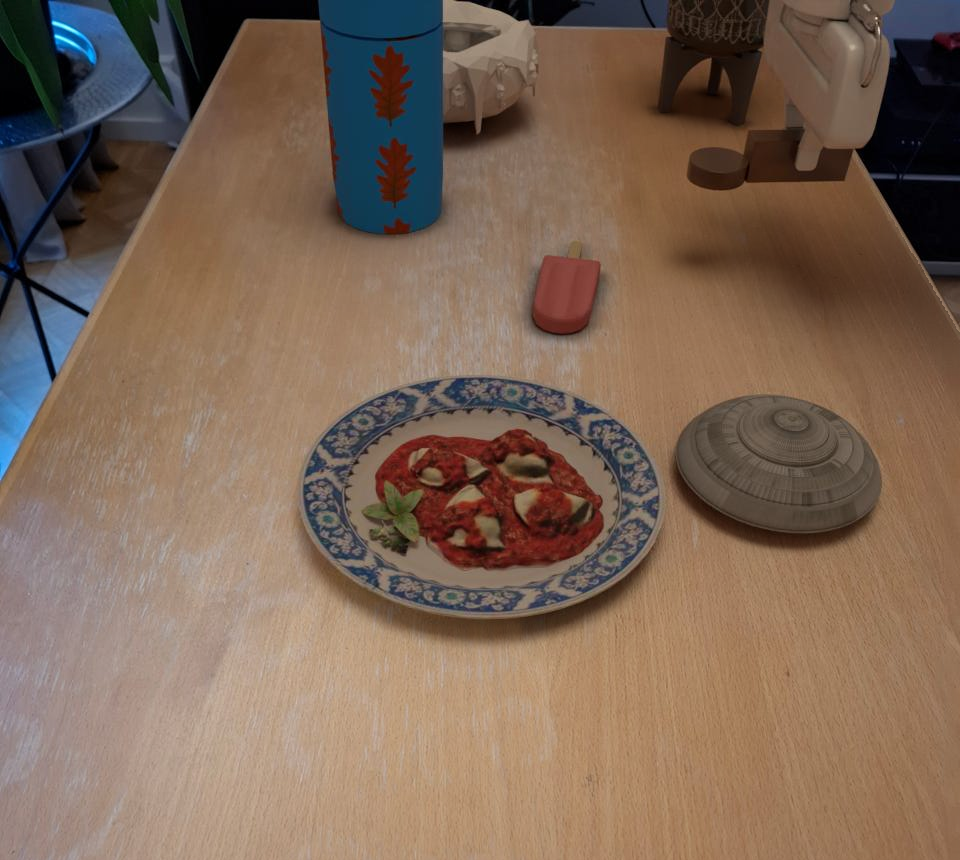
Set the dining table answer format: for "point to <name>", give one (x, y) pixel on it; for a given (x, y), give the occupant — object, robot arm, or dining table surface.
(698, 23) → the planter
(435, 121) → the thermos
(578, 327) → the popsicle
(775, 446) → the flying saucer
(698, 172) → the brown cylinder and block
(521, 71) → the bowl
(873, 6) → the robot arm
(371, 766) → the dining table surface
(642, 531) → the ceramic plate
